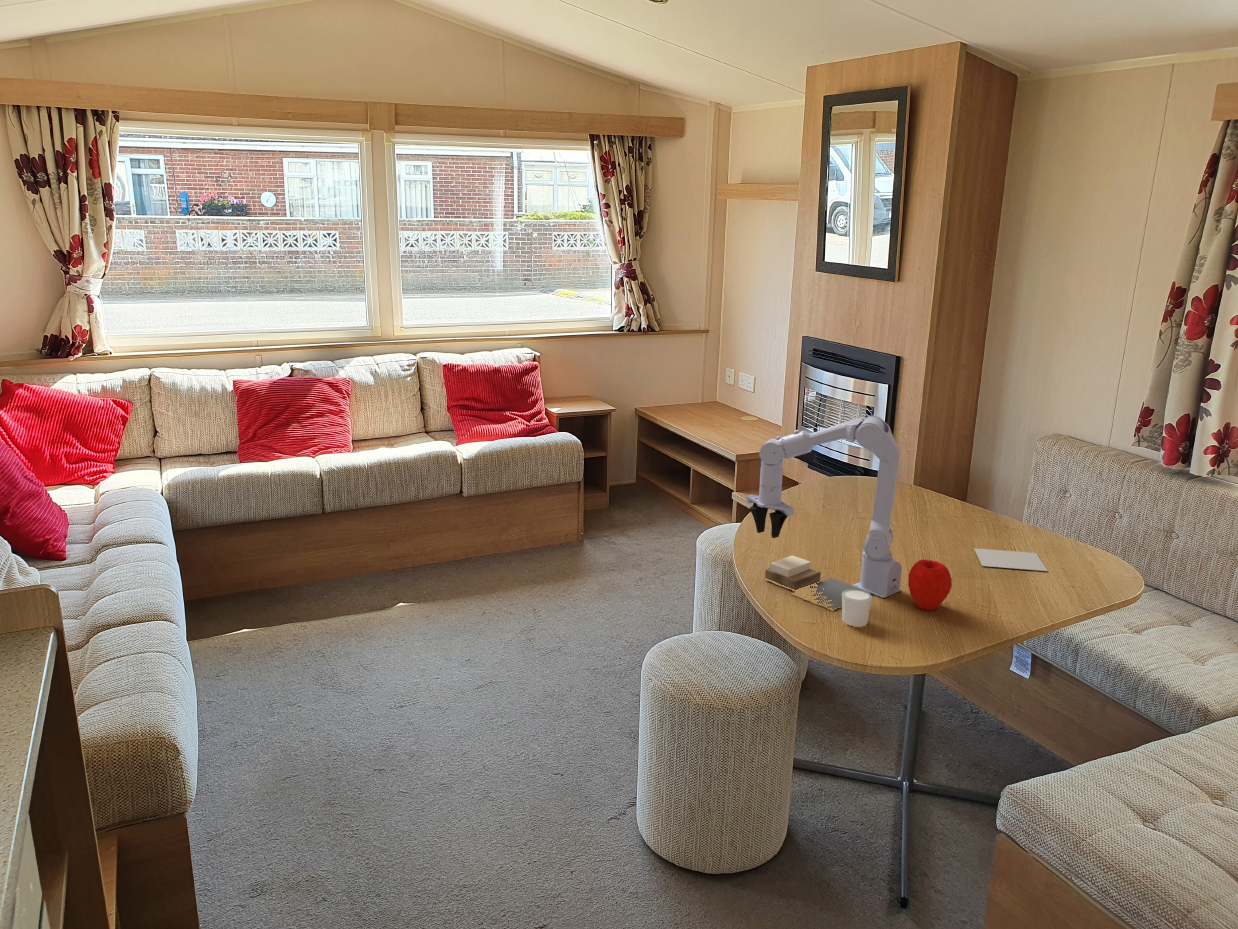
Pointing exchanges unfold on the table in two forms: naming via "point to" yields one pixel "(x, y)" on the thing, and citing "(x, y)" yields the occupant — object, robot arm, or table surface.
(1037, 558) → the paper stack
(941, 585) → the apple
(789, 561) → the cream rectangular block
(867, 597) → the white cylinder
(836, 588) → the mat
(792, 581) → the riser
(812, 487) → the table surface
